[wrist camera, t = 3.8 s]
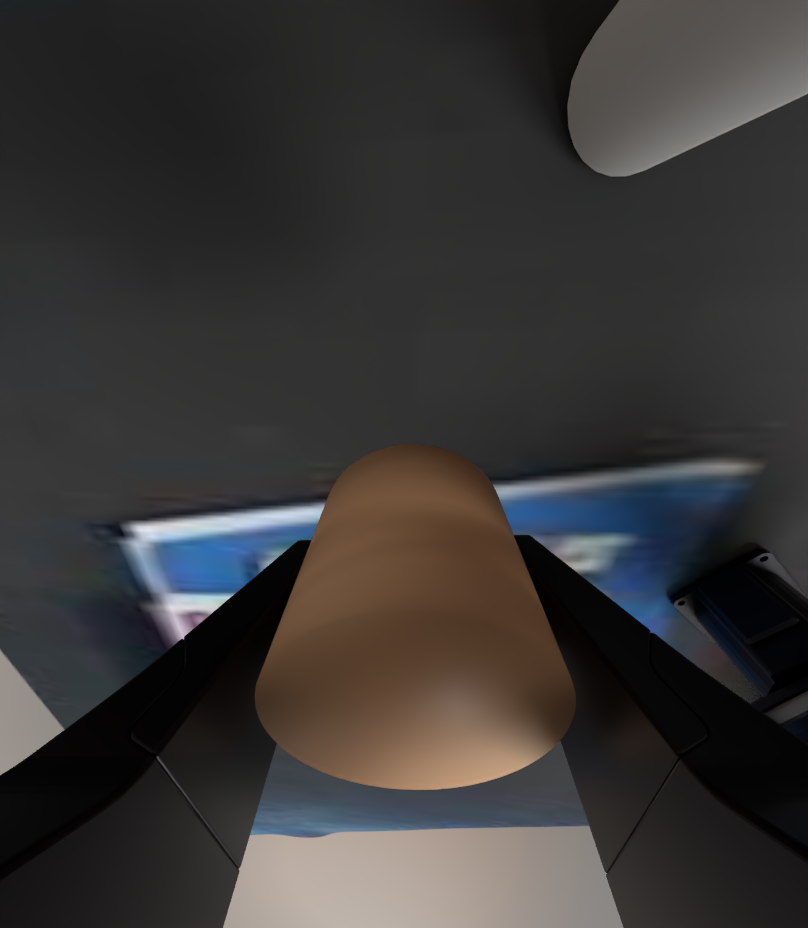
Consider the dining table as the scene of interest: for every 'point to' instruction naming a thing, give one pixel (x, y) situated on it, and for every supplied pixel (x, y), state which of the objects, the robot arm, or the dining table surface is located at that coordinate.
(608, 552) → the dining table surface
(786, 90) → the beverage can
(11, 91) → the dining table surface
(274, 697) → the tan cylinder
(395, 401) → the dining table surface
